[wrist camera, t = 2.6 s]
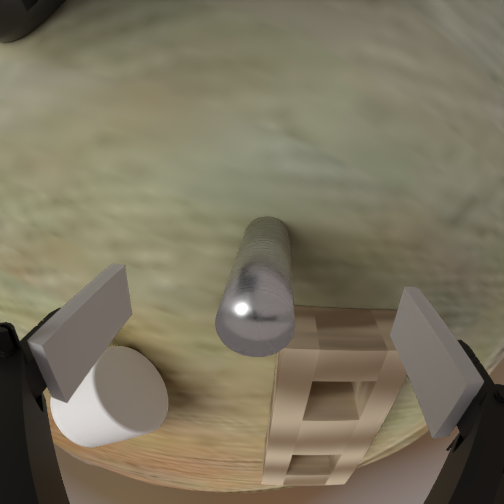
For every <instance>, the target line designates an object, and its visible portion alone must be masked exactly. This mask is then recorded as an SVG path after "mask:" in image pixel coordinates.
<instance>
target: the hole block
mask: <svg viewBox="0 0 504 504" xmlns="http://www.w3.org/2000/svg"><path fill="white" fill-rule="evenodd" d="M396 314H397V310H380V309H352V308H330V307H312V306H295V305H294V317H295V331H294V335H293V337H292V339H291V341H290V342H289V344H288V345H287V346H286V347H285V348H283V349H282V350H281V351H279V352H277V360H276V368H275V376H274V383H273V391H272V398H271V406H270V413H269V420H268V427H267V434H266V440H265V447H264V458H263V470H262V481H261V484H267V485H296V486H303V485H304V486H308V485H338V484H345V483H346V481H347V480H348V478H349V477H350V475H351V474H352V473H353V471H354V470H355V468H356V467H357V465H358V464H359V462H360V461H361V459H362V457H363V456H364V454H365V453H366V451H367V449H368V448H369V446H370V444H371V443H372V441H373V439H374V438H375V436H376V434H377V433H378V431H379V429H380V427H381V425H382V424H383V422H384V420H385V418H386V416H387V415H388V413H389V411H390V409H391V407H392V405H393V403H394V401H395V399H396V397H397V395H398V393H399V391H400V389H401V387H402V385H403V383H404V381H405V378H406V376H407V373H406V370H405V368H404V366H403V363H402V361H401V359H400V357H399V354H398V352H397V350H396V348H395V345H394V343H393V341H392V339H391V337H390V333H391V330H392V327H393V324H394V320H395V317H396Z"/></svg>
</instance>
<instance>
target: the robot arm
mask: <svg viewBox="0 0 504 504" xmlns="http://www.w3.org/2000/svg"><path fill="white" fill-rule="evenodd" d="M63 2H64V0H0V42H1V43H7V42H12V41H15V40H17V39H19V38H21V37H23V36H25V35H27V34H28V33H30V32H31V31H33V30H34V29H35V28H36V27H38V26H39V25H40V24H41V23H42V22H44V21H45V20H46V19H47V18H48V17H49V16H50V15H51V14H52V13H53V12H54V11H55V10H56V9H57V8H58V7H59V6H60V5H61V4H62V3H63ZM131 315H132V309H131V303H130V296H129V289H128V282H127V275H126V267H125V265H120V264H111V265H110V266H109V267H107V268H106V269H105V270H104V271H103V272H101V273H100V274H99V275H98V276H97V277H96V278H94V279H93V280H92V281H91V282H90V283H89V284H88V285H86V286H85V287H84V288H83V289H82V290H81V291H80V292H78V293H77V294H76V295H75V296H74V297H73V298H72V299H71V300H70V301H68V302H67V303H66V304H65V305H64V306H63V307H62V308H58V309H56V310H54V311H53V312H51V313H49V314H48V315H47V316H46V317H45V318H44V319H43V321H41V322H40V323H39V324H38V326H35V327H34V328H33V329H32V330H31V331H30V332H29V333H28V334H27V335H26V336H25V337H24V338H23V339H22V340H21V341H19V339H18V336H17V333H16V331H15V328H14V326H13V325H12V324H11V323H7V322H4V323H0V504H70V503H69V500H68V497H67V494H66V490H65V487H64V484H63V480H62V477H61V473H60V470H59V466H58V462H57V458H56V454H55V449H54V445H53V440H52V435H51V430H50V425H49V419H48V413H47V406H46V399H45V397H44V394H43V391H44V390H45V389H46V387H47V388H48V390H49V392H50V394H51V396H52V398H55V399H57V400H60V401H62V402H65V403H68V401H69V400H70V398H71V397H72V396H73V394H74V393H75V391H76V390H77V388H78V387H79V386H80V384H81V383H82V381H83V380H84V378H85V377H86V376H87V374H88V373H89V371H90V370H91V369H92V367H93V366H94V365H95V363H96V362H97V360H98V359H99V358H100V356H101V355H102V354H103V352H104V351H105V349H106V348H107V347H108V345H109V344H110V343H111V341H112V340H113V339H114V337H115V336H116V335H117V333H118V332H119V331H120V329H121V328H122V327H123V326H124V324H125V323H126V322H127V320H128V319H129V318H130V316H131ZM390 337H391V339H392V341H393V343H394V345H395V348H396V350H397V352H398V354H399V357H400V359H401V361H402V363H403V366H404V368H405V370H406V373H407V375H408V378H409V380H410V382H411V385H412V387H413V390H414V392H415V395H416V397H417V400H418V402H419V405H420V407H421V410H422V412H423V415H424V418H425V420H426V423H427V426H428V428H429V431H430V434H431V437H432V438H433V439H434V438H439V437H444V436H449V435H450V433H451V432H452V431H453V429H454V428H455V426H456V425H457V427H458V429H459V431H460V432H459V434H458V435H457V436H456V438H455V439H454V440H453V442H452V443H451V444H450V445H449V447H448V448H447V449H446V450H447V451H449V449H450V448H451V450H450V452H449V454H448V457H447V459H446V461H445V463H444V465H443V468H442V469H441V472H440V474H439V476H438V478H437V480H436V482H435V484H434V485H433V487H432V489H431V491H430V493H429V495H428V497H427V499H426V500H425V502H424V504H504V385H500V384H494V383H493V381H492V379H491V378H490V376H489V375H488V373H487V372H486V370H485V369H484V367H483V366H482V364H481V363H480V361H479V360H478V358H477V357H475V354H474V352H473V351H472V350H471V348H470V347H469V346H468V345H467V344H465V343H464V342H463V341H462V340H457V339H456V338H455V336H454V335H453V334H452V332H451V331H450V329H449V328H448V327H447V325H446V324H445V322H444V321H443V320H442V318H441V317H440V316H439V314H438V313H437V312H436V310H435V309H434V308H433V306H432V305H431V304H430V302H429V301H428V300H427V298H426V297H425V296H424V294H423V293H422V292H421V291H420V289H419V288H418V287H404V289H403V292H402V296H401V300H400V303H399V307H398V310H397V314H396V317H395V320H394V324H393V327H392V330H391V333H390Z"/></svg>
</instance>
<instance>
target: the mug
mask: <svg viewBox="0 0 504 504" xmlns="http://www.w3.org/2000/svg"><path fill="white" fill-rule="evenodd" d="M51 412H52V415H53V418H54V421H55V423H56V425H57V426H58V428H59V429H60V431H61V432H62V433H63V434H64V435H65V436H66V437H67V438H68V439H70V440H71V441H73V442H74V443H76V444H78V445H81V446H85V447H97V446H102V445H106V444H110V443H114V442H118V441H122V440H126V439H130V438H133V437H137V436H140V435H144V434H147V433H151V432H153V431H155V430H156V429H158V428H159V427H160V426H161V425H162V424H163V422H164V420H165V418H166V416H167V412H168V394H167V390H166V386H165V384H164V381H163V379H162V377H161V375H160V374H159V372H158V370H157V369H156V368H155V366H154V365H153V364H152V363H151V362H150V361H149V360H148V359H147V358H146V357H145V356H143V355H142V354H141V353H139V352H137V351H136V350H133V349H131V348H128V347H124V346H113V347H109V348H107V349H105V351H104V352H103V354H102V355H101V356H100V358H99V359H98V360H97V362H96V363H95V365H94V366H93V367H92V369H91V370H90V371H89V373H88V374H87V376H86V377H85V378H84V380H83V381H82V383H81V384H80V386H79V387H78V388H77V390H76V391H75V393H74V394H73V396H72V397H71V398H70V400H69V401H68V403H65V402H62V401H60V400H57V399H55V398H52V396H51Z"/></svg>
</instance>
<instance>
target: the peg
mask: <svg viewBox="0 0 504 504" xmlns="http://www.w3.org/2000/svg"><path fill="white" fill-rule="evenodd" d="M215 326H216V331H217V333H218V336H219V337H220V339H221V340H222V342H223V343H224V344H225V345H226V346H227V347H229V348H230V349H231V350H233V351H235V352H237V353H239V354H242V355H246V356H251V357H264V356H269V355H272V354H275V353H277V352H279V351H281V350H282V349H283V348H285V347H286V346H287V345H288V344H289V342H290V341H291V339H292V337H293V335H294V331H295V317H294V299H293V283H292V268H291V254H290V240H289V233H288V230H287V228H286V226H285V225H284V224H283V223H282V222H281V221H279V220H278V219H276V218H273V217H260V218H257V219H255V220H254V221H252V222H251V223H250V224H249V225H248V227H247V228H246V231H245V233H244V236H243V239H242V242H241V245H240V248H239V251H238V254H237V256H236V259H235V262H234V265H233V268H232V271H231V274H230V277H229V280H228V283H227V286H226V288H225V291H224V294H223V297H222V300H221V303H220V306H219V309H218V312H217V315H216V319H215Z"/></svg>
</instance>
